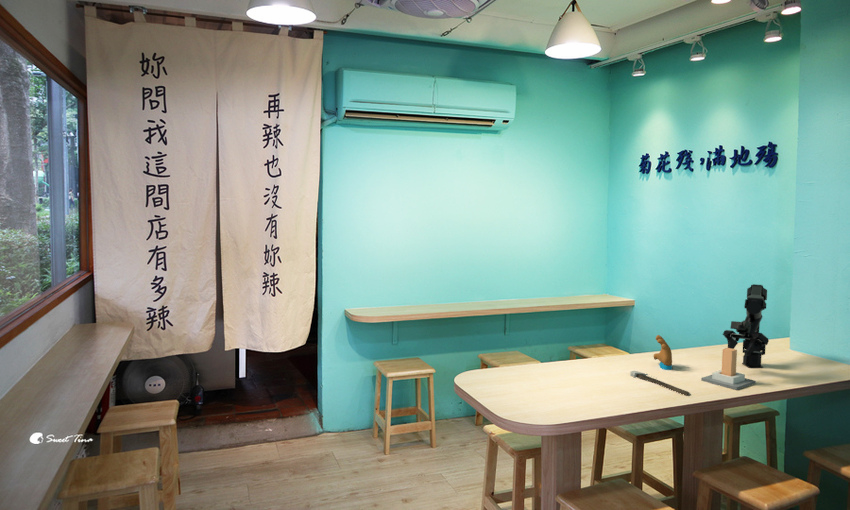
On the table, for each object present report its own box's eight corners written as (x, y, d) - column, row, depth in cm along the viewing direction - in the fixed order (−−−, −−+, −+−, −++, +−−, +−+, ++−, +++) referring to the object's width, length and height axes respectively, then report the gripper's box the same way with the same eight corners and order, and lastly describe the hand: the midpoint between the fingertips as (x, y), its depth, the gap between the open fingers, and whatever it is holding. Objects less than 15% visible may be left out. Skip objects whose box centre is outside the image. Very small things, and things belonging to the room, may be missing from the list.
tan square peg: (726, 377, 246) (727, 347, 244) (735, 379, 242) (737, 349, 241) (721, 378, 243) (722, 349, 242) (730, 381, 240) (732, 351, 239)
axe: (680, 391, 225) (629, 370, 253) (679, 397, 225) (628, 375, 253) (702, 392, 229) (649, 370, 257) (701, 398, 229) (648, 376, 257)
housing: (720, 374, 253) (720, 366, 253) (755, 383, 241) (755, 375, 241) (701, 380, 245) (701, 372, 245) (736, 390, 233) (736, 381, 232)
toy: (652, 362, 272) (653, 331, 271) (668, 363, 271) (669, 332, 269) (657, 370, 260) (658, 337, 259) (673, 371, 259) (675, 338, 257)
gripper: (721, 312, 258) (708, 342, 254) (758, 314, 240) (744, 346, 236) (737, 325, 261) (724, 355, 257) (775, 328, 243) (761, 360, 239)
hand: (737, 353), depth 247 cm, fingers open, 9 cm apart
